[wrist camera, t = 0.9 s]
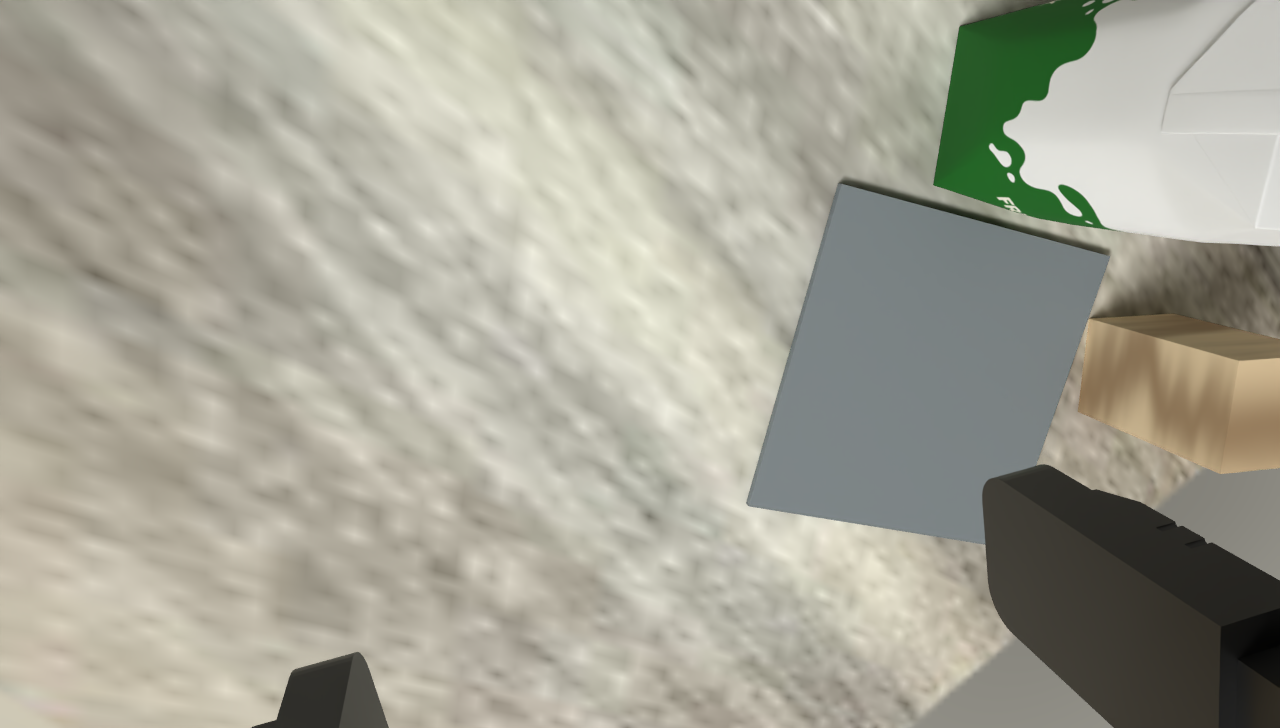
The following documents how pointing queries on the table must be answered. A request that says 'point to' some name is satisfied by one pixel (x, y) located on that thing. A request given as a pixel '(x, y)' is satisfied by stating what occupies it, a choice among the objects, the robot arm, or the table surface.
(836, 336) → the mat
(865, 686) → the table surface
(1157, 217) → the soya milk
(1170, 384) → the oak block
